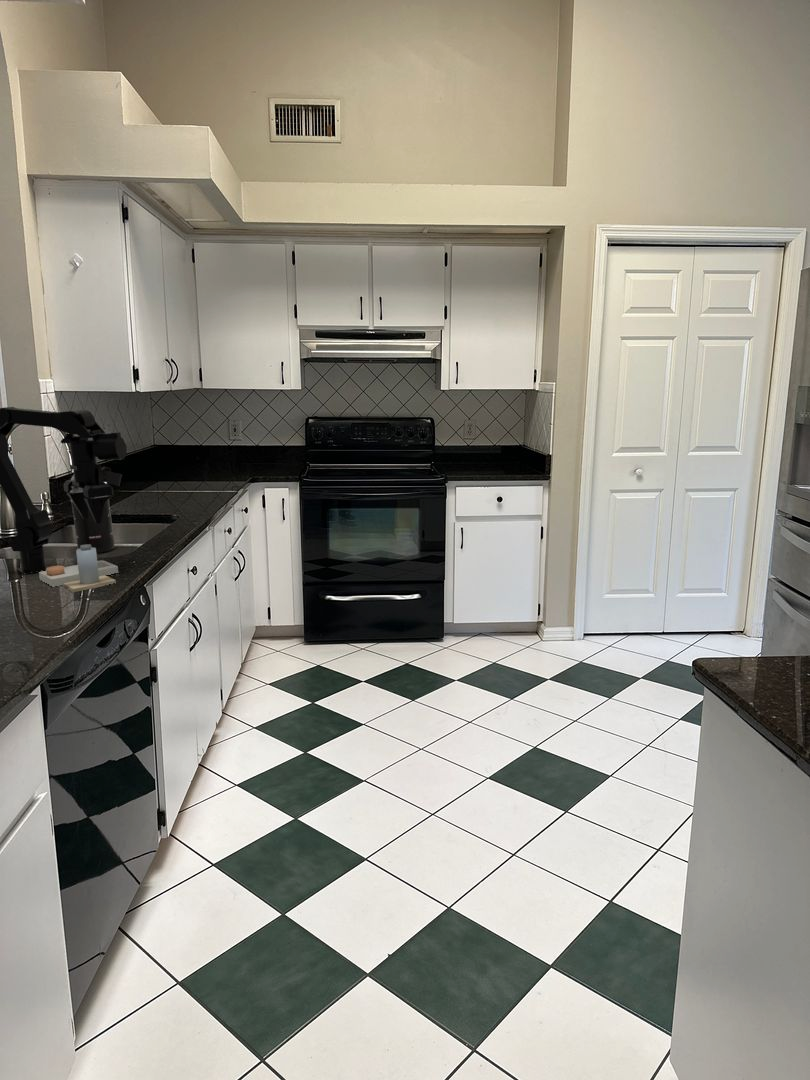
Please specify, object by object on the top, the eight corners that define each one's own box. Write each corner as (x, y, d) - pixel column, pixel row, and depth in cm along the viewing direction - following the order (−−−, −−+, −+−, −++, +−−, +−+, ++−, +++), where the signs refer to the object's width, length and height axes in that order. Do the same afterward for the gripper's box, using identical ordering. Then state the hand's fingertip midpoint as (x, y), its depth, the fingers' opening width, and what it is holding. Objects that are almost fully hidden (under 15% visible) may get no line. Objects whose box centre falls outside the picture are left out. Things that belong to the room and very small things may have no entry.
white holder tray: (39, 579, 188) (38, 572, 188) (103, 567, 199) (102, 560, 198) (52, 587, 181) (51, 579, 181) (118, 573, 191) (117, 566, 191)
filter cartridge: (77, 581, 182) (73, 545, 180) (95, 578, 185) (91, 542, 183) (83, 585, 179) (79, 548, 177) (102, 581, 182) (98, 545, 180)
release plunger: (45, 579, 186) (43, 567, 186) (62, 576, 189) (60, 564, 188) (50, 582, 183) (49, 570, 183) (67, 579, 186) (66, 567, 185)
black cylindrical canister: (77, 556, 212) (65, 468, 206) (77, 549, 221) (66, 464, 215) (116, 552, 216) (105, 465, 210) (114, 545, 225) (104, 461, 219)
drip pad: (63, 586, 181) (63, 583, 181) (105, 578, 188) (104, 575, 188) (73, 592, 176) (73, 589, 176) (115, 583, 183) (115, 580, 182)
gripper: (130, 459, 188) (137, 520, 192) (102, 455, 202) (109, 512, 205) (85, 464, 181) (93, 527, 185) (59, 459, 195) (67, 518, 198)
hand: (92, 521), depth 193 cm, fingers open, 9 cm apart
